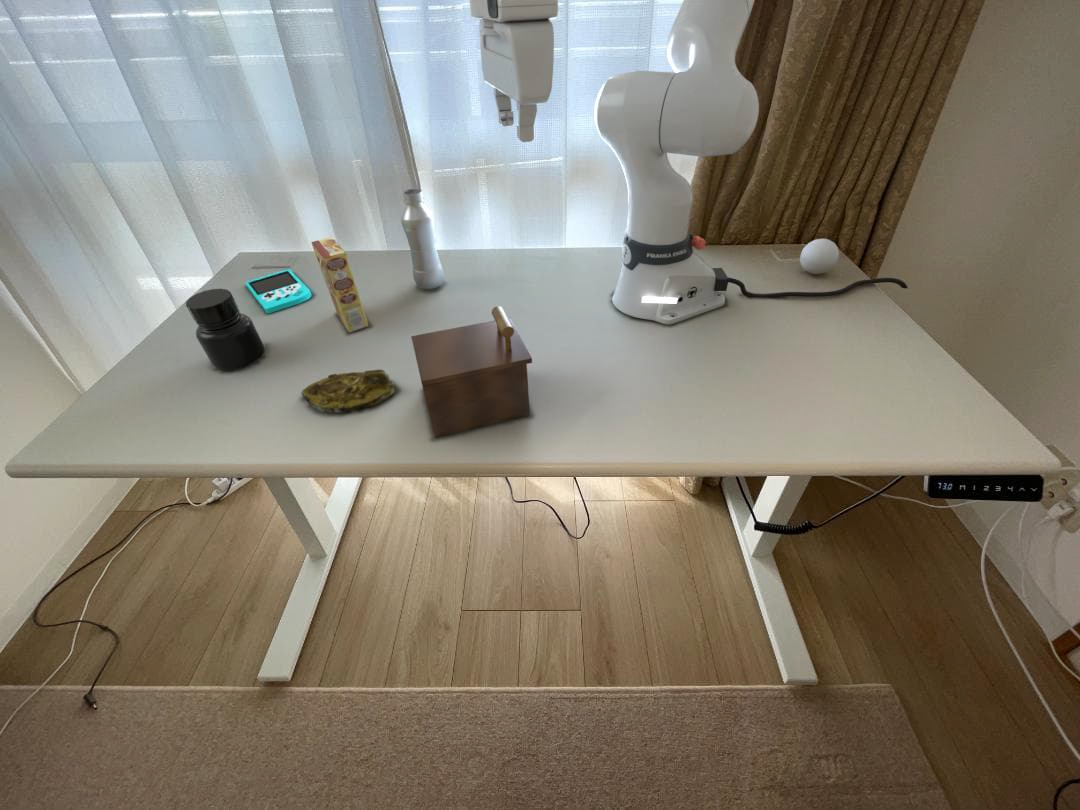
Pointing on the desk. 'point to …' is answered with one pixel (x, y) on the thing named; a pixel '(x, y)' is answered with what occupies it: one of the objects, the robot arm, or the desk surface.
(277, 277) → the handheld game console
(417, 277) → the plastic bottle
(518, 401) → the chest
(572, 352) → the desk surface
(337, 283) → the candy box
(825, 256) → the white egg
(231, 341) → the ink bottle
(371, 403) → the mossy rock
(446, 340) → the lid
